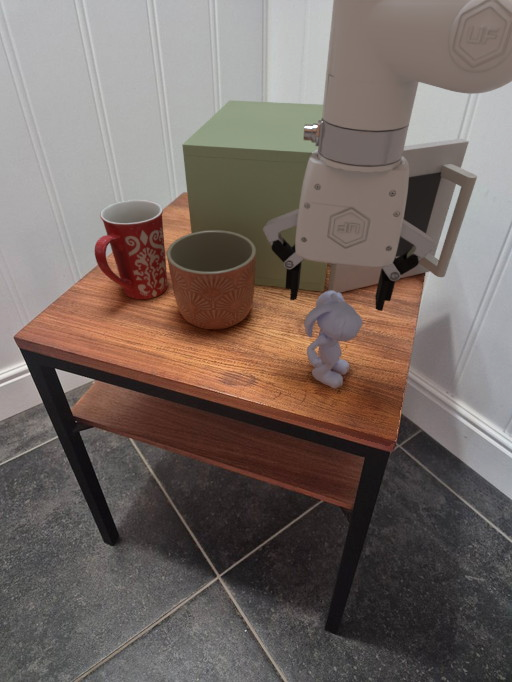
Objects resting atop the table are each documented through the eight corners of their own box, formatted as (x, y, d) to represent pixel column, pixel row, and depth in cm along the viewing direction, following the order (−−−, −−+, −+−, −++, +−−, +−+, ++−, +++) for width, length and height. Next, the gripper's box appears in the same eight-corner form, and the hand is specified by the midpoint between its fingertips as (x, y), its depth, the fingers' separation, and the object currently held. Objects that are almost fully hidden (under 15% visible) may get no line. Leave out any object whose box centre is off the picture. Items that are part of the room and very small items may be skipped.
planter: (208, 282, 74) (203, 222, 67) (270, 305, 69) (272, 243, 62) (159, 320, 66) (147, 256, 59) (225, 349, 61) (221, 283, 54)
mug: (143, 268, 78) (129, 194, 69) (184, 282, 75) (174, 206, 66) (90, 303, 70) (66, 224, 61) (133, 321, 66) (114, 240, 58)
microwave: (344, 220, 93) (360, 106, 79) (338, 293, 72) (358, 155, 58) (233, 211, 97) (229, 100, 82) (196, 278, 76) (182, 144, 61)
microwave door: (452, 288, 73) (499, 153, 59) (350, 314, 67) (375, 171, 53) (424, 267, 78) (461, 138, 64) (327, 289, 73) (344, 153, 59)
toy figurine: (343, 397, 54) (357, 321, 47) (295, 381, 57) (301, 306, 49) (358, 363, 59) (374, 289, 51) (314, 350, 61) (322, 276, 54)
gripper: (258, 147, 38) (256, 308, 49) (469, 163, 35) (416, 328, 46) (273, 124, 43) (267, 273, 54) (455, 136, 41) (410, 289, 52)
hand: (336, 298), depth 50 cm, fingers open, 9 cm apart
